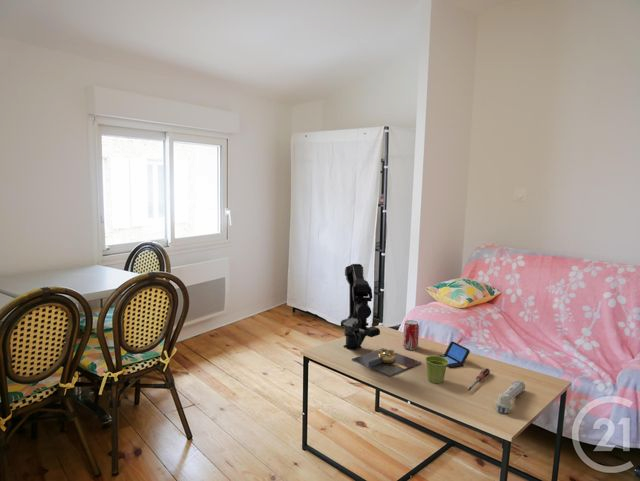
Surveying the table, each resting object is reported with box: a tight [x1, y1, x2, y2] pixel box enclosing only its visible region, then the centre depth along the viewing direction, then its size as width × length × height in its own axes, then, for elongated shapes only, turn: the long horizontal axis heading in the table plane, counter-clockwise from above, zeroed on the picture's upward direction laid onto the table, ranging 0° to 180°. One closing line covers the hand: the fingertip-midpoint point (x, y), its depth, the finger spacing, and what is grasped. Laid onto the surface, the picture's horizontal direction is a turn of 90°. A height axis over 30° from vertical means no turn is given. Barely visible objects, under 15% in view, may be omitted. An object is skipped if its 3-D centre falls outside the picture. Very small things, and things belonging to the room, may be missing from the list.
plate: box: [351, 347, 423, 377], centre depth 198 cm, size 22×22×1 cm
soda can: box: [402, 319, 420, 351], centre depth 215 cm, size 7×7×13 cm
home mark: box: [393, 363, 407, 369], centre depth 192 cm, size 6×2×1 cm, turn 42°
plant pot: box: [424, 355, 449, 384], centre depth 179 cm, size 9×9×9 cm
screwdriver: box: [466, 368, 491, 392], centre depth 179 cm, size 25×3×3 cm, turn 143°
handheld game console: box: [438, 341, 471, 369], centre depth 199 cm, size 12×11×7 cm
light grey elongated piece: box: [494, 380, 526, 414], centre depth 164 cm, size 5×7×25 cm
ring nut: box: [364, 348, 397, 369], centre depth 194 cm, size 17×8×4 cm, turn 132°
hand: (359, 346), depth 194 cm, fingers closed
